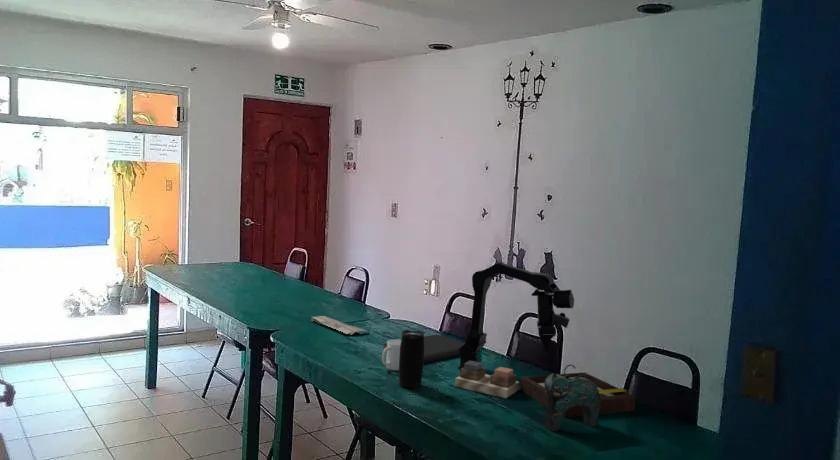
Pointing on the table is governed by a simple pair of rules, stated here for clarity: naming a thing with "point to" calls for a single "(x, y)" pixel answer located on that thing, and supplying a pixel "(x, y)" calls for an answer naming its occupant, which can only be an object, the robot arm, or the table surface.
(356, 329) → the beige notched slab
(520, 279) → the robot arm
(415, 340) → the portable speaker
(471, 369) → the charcoal key
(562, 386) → the ceramic cat
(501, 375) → the terracotta key
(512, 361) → the table surface
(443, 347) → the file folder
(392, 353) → the cup
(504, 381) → the key console
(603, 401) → the brown wooden tray
